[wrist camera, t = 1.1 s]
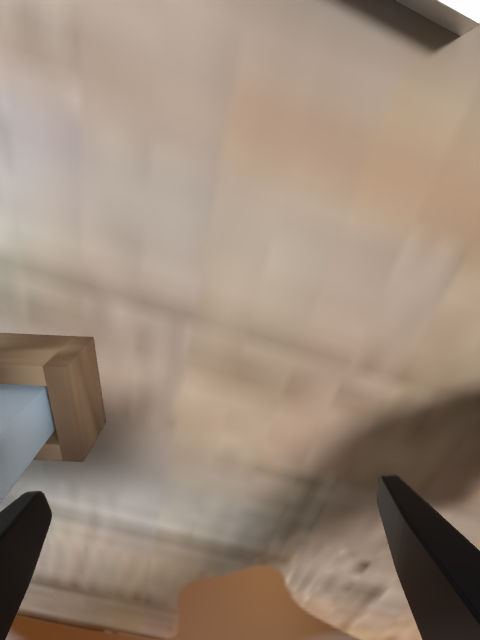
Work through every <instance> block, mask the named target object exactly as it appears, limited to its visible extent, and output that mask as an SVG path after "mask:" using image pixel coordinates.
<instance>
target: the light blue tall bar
mask: <svg viewBox="0 0 480 640" xmlns="http://www.w3.org/2000/svg"><path fill="white" fill-rule="evenodd" d="M55 429H56V427H55V422H54V418H53V413H52V409H51V404H50V399H49V395H48V390H47V386H35V385H14V384H0V503H1V502H2V500H3V499H4V498H5V496H6V495H7V493H8V492H9V491H10V489H11V488H12V487H13V485H14V484H15V483H16V481H17V480H18V479H19V477H20V476H21V475H22V473H23V472H24V471H25V469H26V468H27V467H28V465H29V464H30V463H31V461H32V460H33V459H34V457H35V456H36V455H37V453H38V452H39V451H40V449H41V448H42V447H43V445H44V444H45V443H46V441H47V440H48V439H49V437H50V436H51V435H52V433H53V432H54V430H55Z"/></svg>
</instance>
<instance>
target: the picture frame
mask: <svg viewBox="0 0 480 640" xmlns="http://www.w3.org/2000/svg"><path fill="white" fill-rule="evenodd" d="M395 1H397V2H399V3H400V4H402V5H404V6H406V7H408V8H409V9H411V10H413V11H415V12H417V13H419V14H420V15H422V16H424V17H426V18H428V19H429V20H431V21H433V22H435V23H437V24H439V25H440V26H442V27H444V28H446V29H448V30H449V31H451V32H453V33H455V34H457V35H459V36H462V35H464V34H465V33H467V32H469V31H470V30H472V29H473V28H475V27H477V26H478V25H479V24H480V0H395Z"/></svg>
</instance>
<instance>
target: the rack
mask: <svg viewBox="0 0 480 640" xmlns="http://www.w3.org/2000/svg"><path fill="white" fill-rule="evenodd" d="M0 384H14V385H35V386H47V390H48V395H49V399H50V404H51V409H52V413H53V418H54V422H55V427H56V429H55V430H54V432H53V433H52V435H51V436H50V437H49V439H48V440H47V441H46V443H45V444H44V445H43V447H42V448H41V449H40V451H39V452H38V453H37V455H36V456H35V457H34V459H36V460H56V461H76V462H83V461H84V460H85V458H86V456H87V454H88V452H89V451H90V449H91V447H92V445H93V444H94V442H95V440H96V438H97V437H98V435H99V433H100V431H101V430H102V428H103V426H104V424H105V423H106V421H105V414H104V407H103V400H102V393H101V386H100V379H99V372H98V365H97V358H96V352H95V345H94V338H93V337H76V336H54V335H32V334H9V333H0Z"/></svg>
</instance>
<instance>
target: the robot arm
mask: <svg viewBox="0 0 480 640" xmlns="http://www.w3.org/2000/svg"><path fill="white" fill-rule="evenodd" d="M377 503H378V508H379V512H380V515H381V519H382V522H383V526H384V530H385V533H386V537H387V540H388V544H389V548H390V551H391V555H392V558H393V562H394V565H395V569H396V572H397V574H398V577H399V580H400V583H401V585H402V588H403V591H404V593H405V596H406V598H407V601H408V603H409V606H410V609H411V611H412V614H413V616H414V619H415V622H416V624H417V627H418V629H419V632H420V634H421V637H422V640H480V551H479V550H478V549H477V548H476V547H475V546H474V545H473V544H472V543H471V542H470V541H468V540H467V539H466V538H465V537H464V536H463V535H462V534H461V533H460V532H459V531H458V530H456V529H455V528H454V527H453V526H452V525H451V524H450V523H449V522H448V521H447V520H446V519H444V518H443V517H442V516H441V515H440V514H439V513H438V512H437V511H436V510H435V509H434V508H432V507H431V506H430V505H429V504H428V503H427V502H426V501H425V500H424V499H423V498H422V497H420V496H419V495H418V494H417V493H416V492H415V491H414V490H413V489H412V488H411V487H410V486H408V485H407V484H406V483H405V482H404V481H403V480H402V479H401V478H400V477H399V476H397V475H395V474H388V475H381V476H380V477H379V482H378V492H377ZM51 518H52V512H51V509H50V507H49V504H48V502H47V499H46V497H45V495H44V493H43V492H41V491H31V492H26V493H24V494H23V495H21V496H20V497H19V498H18V499H16V500H15V501H14V502H12V503H11V504H10V505H9V506H7V507H6V508H5V509H4V510H2V511H1V512H0V640H5V639H6V637H7V634H8V632H9V630H10V627H11V625H12V623H13V620H14V618H15V616H16V614H17V612H18V609H19V607H20V605H21V602H22V600H23V598H24V596H25V593H26V591H27V588H28V586H29V584H30V581H31V578H32V576H33V573H34V570H35V567H36V564H37V561H38V558H39V555H40V552H41V549H42V546H43V543H44V540H45V537H46V535H47V532H48V529H49V526H50V523H51Z"/></svg>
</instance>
